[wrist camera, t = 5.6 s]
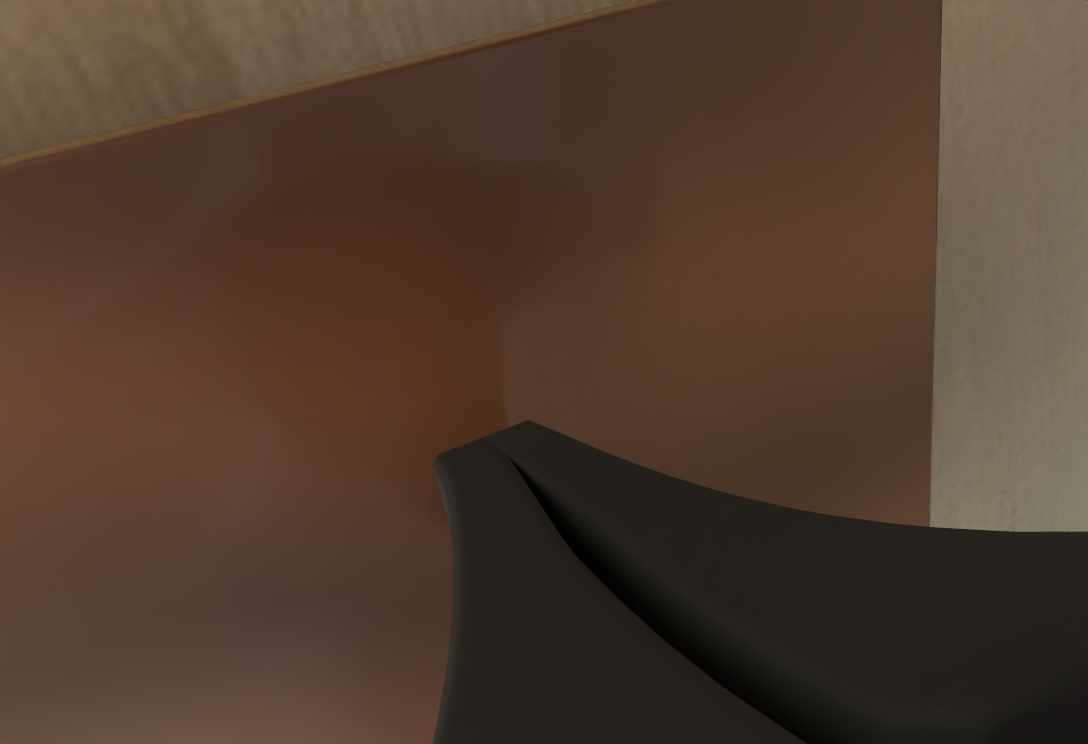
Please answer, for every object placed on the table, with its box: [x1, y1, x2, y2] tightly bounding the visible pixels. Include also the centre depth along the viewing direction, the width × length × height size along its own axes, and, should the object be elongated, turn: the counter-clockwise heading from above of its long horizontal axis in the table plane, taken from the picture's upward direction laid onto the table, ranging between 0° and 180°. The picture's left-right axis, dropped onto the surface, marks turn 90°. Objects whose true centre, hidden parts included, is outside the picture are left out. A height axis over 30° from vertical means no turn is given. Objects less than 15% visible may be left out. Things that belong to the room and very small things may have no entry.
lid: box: [0, 0, 942, 744], centre depth 12 cm, size 13×16×1 cm
